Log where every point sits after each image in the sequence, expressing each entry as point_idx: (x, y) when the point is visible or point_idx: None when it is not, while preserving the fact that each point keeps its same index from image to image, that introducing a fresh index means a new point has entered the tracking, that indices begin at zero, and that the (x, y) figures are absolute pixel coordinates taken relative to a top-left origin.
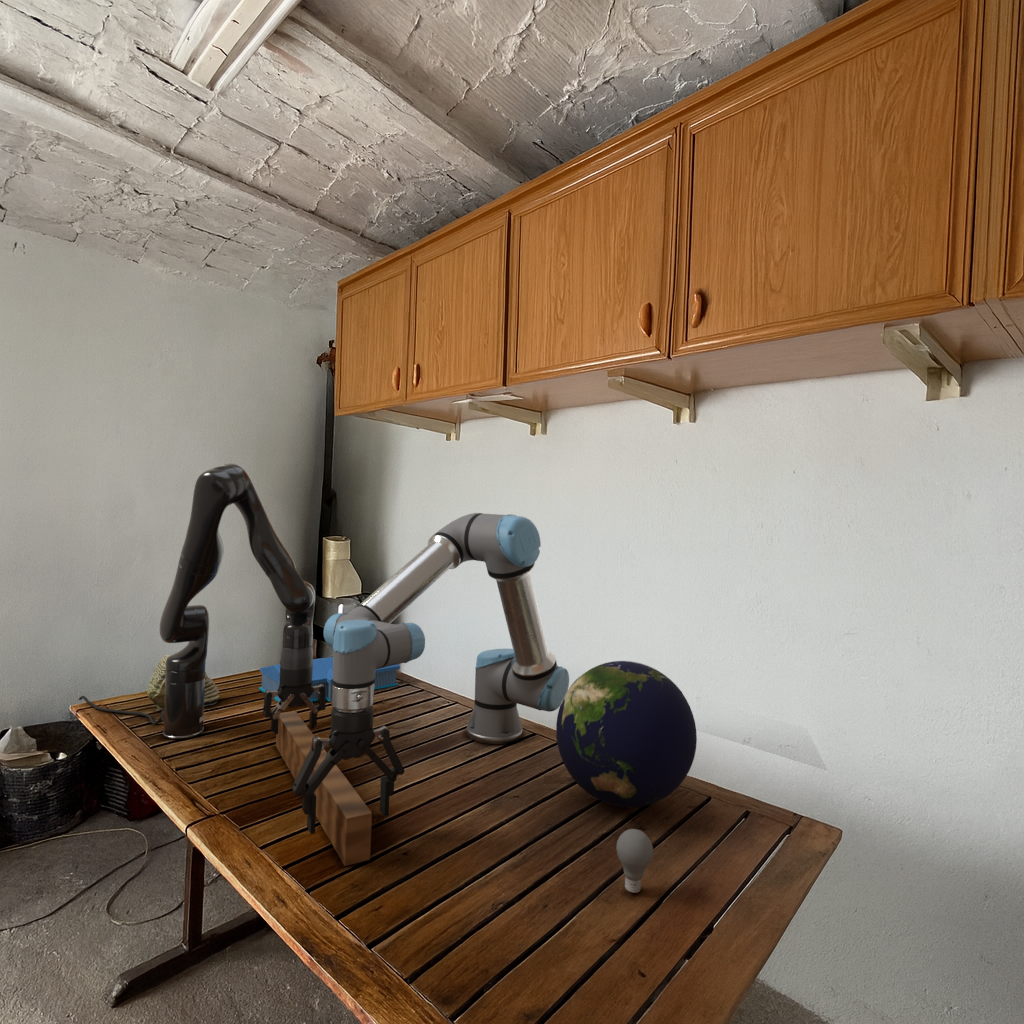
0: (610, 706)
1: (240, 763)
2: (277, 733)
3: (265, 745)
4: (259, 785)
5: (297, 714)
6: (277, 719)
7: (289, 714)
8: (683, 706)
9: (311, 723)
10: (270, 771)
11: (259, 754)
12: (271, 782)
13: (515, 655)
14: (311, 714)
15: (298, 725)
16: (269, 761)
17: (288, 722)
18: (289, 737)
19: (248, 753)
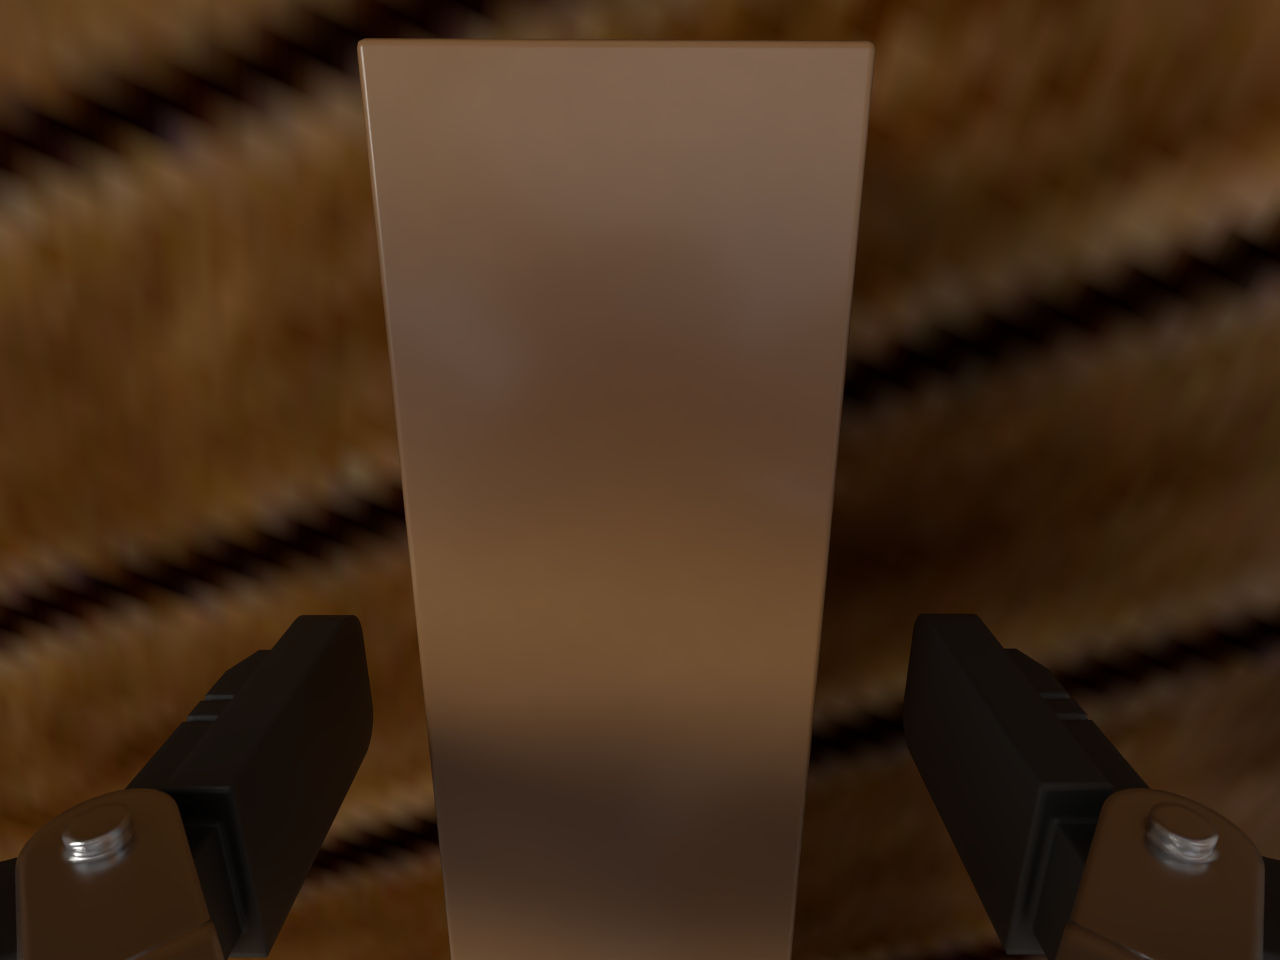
0: None
1: (93, 470)
2: (362, 739)
3: (380, 14)
4: (276, 941)
5: (826, 375)
6: (245, 952)
7: (648, 287)
8: None
9: (934, 793)
10: (377, 754)
11: (293, 305)
12: (368, 930)
13: None
14: (1010, 905)
15: (662, 954)
16: (387, 542)
17: (525, 766)
18: None
19: (164, 214)
